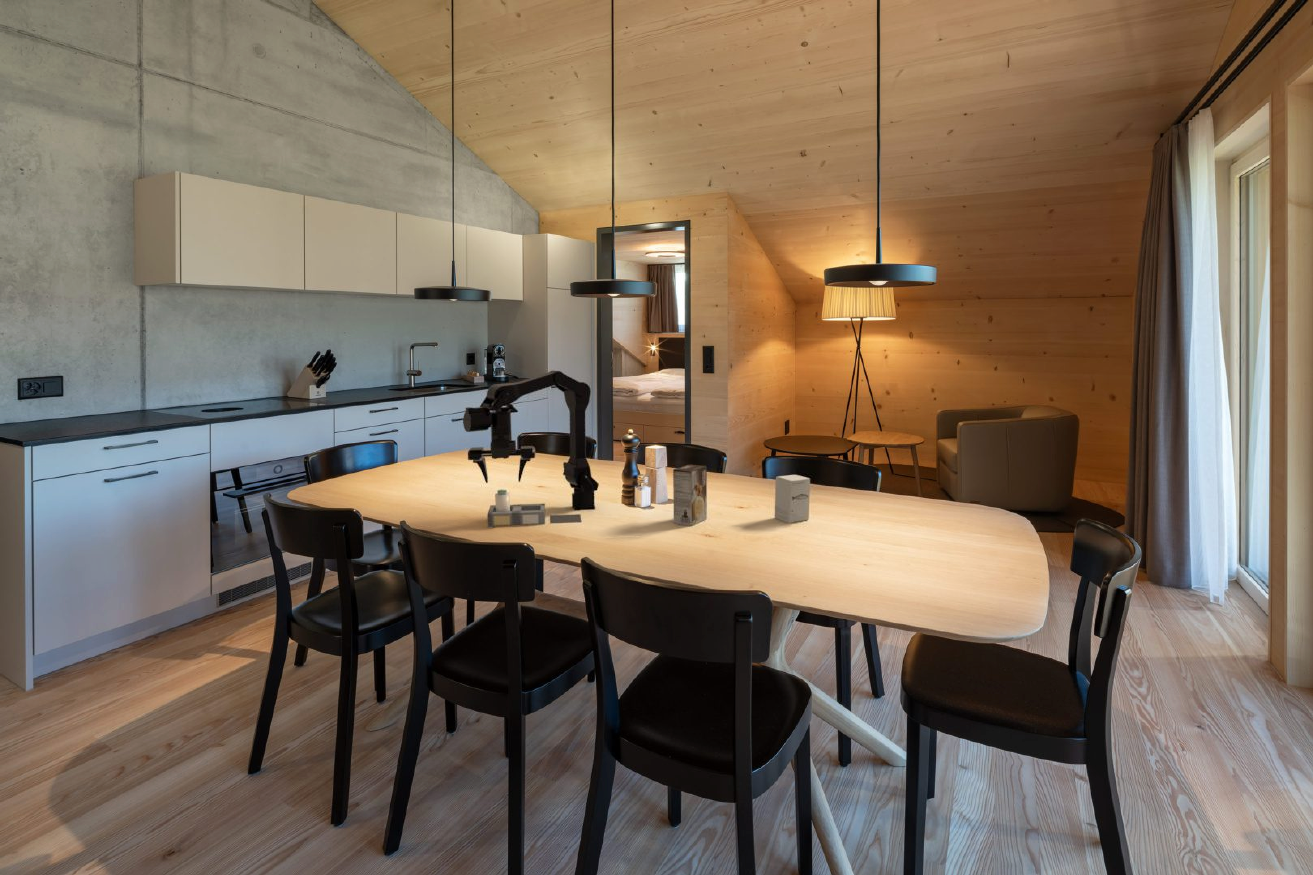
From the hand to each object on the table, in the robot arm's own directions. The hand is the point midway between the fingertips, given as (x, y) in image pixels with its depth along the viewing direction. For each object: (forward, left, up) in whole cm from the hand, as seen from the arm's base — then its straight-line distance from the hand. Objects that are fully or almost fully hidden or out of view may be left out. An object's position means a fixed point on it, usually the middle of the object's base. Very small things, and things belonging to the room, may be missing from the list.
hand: (503, 482), depth 213 cm
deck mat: (-18, 0, -12) cm, 21 cm away
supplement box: (-84, +9, -12) cm, 85 cm away
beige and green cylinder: (0, 0, -11) cm, 11 cm away
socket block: (-4, 0, -12) cm, 12 cm away
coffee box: (-54, +7, -12) cm, 56 cm away
